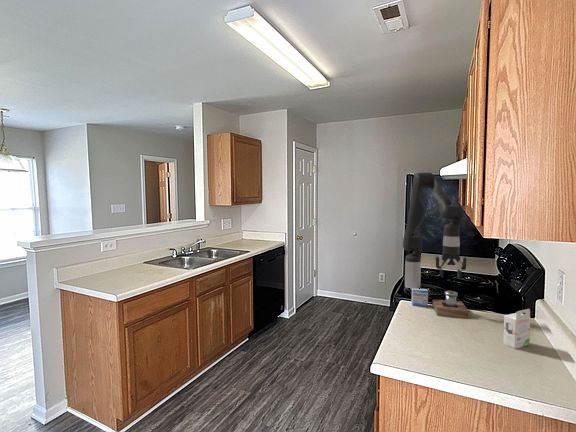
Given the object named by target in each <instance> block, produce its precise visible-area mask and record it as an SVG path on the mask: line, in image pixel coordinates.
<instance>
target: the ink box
mask: <svg viewBox="0 0 576 432" xmlns="http://www.w3.org/2000/svg"><path fill="white" fill-rule="evenodd" d="M530 336H531V309H530V308H527V309H522V310H518V311H516V312H515V313H509V314H505V315H503V345H505V346H508V347H510V348H512V349H514V350H515V349H520V348H523V347H524V348H525V347H526V346H527V345H528V346H530V343H531V342H530V340H531V339H530V338H531V337H530Z"/></svg>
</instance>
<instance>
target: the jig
mask: <svg viewBox="0 0 576 432" xmlns="http://www.w3.org/2000/svg"><path fill="white" fill-rule="evenodd" d="M431 304H432V308H433V311H434V312H435V314H436V316H437V317H438V316H440V317H452V318H464V319H469V318H470V317H469V316H470V314H469V313H470V311H469V309H468V308H467V307H466V306H465V304H464V303H463V302H462V301H458V300H456V307H445V305H446V299H445V300H444V299H432V303H431Z"/></svg>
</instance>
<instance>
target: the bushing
mask: <svg viewBox="0 0 576 432" xmlns="http://www.w3.org/2000/svg"><path fill="white" fill-rule="evenodd" d="M444 295H445V300H446V305H445V307H456V301H457V297H458V291H453V290H444Z"/></svg>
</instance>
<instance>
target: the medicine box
mask: <svg viewBox="0 0 576 432" xmlns="http://www.w3.org/2000/svg"><path fill="white" fill-rule="evenodd" d="M428 303H429V290H428V289H427V288H420V289H419V288H412V289H411V306H413V307H426V308H427V307H428V305H429V304H428Z"/></svg>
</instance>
